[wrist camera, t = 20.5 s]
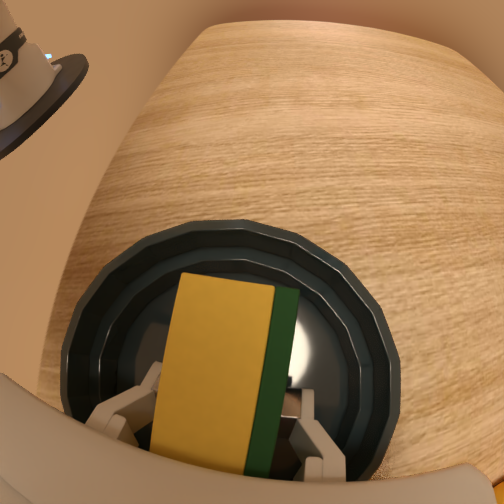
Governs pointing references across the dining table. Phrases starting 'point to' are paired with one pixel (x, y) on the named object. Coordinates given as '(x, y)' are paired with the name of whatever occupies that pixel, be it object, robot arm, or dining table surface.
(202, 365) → the sponge
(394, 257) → the dining table surface
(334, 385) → the bowl
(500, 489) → the teapot
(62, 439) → the robot arm
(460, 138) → the dining table surface
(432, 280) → the dining table surface
